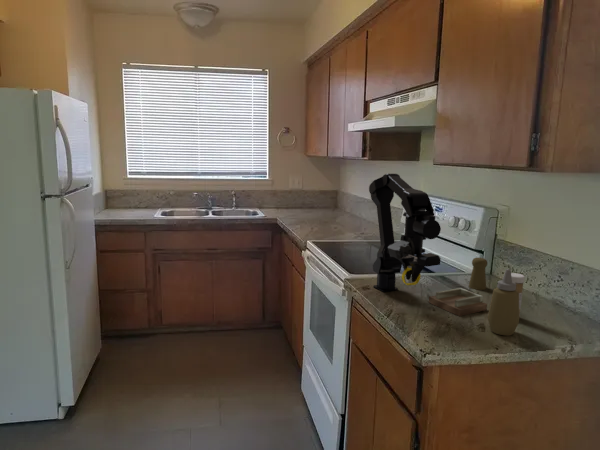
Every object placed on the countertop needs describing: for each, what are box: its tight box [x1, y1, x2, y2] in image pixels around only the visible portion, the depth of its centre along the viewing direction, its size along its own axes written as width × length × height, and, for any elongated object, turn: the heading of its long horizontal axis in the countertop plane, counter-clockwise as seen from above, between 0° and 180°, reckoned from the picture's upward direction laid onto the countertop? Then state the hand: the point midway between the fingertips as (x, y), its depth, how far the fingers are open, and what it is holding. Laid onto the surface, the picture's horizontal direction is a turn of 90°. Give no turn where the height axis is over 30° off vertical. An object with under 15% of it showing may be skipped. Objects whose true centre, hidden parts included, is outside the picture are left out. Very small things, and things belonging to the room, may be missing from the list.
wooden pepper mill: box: [468, 257, 488, 291], centre depth 163 cm, size 6×6×11 cm
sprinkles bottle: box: [511, 272, 525, 319], centre depth 135 cm, size 5×5×13 cm
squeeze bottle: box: [487, 268, 520, 337], centre depth 124 cm, size 8×8×18 cm
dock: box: [428, 287, 488, 317], centre depth 144 cm, size 13×12×4 cm
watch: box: [401, 266, 421, 286], centre depth 142 cm, size 6×3×6 cm, turn 106°
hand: (410, 280), depth 142 cm, fingers closed on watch, 2 cm apart
